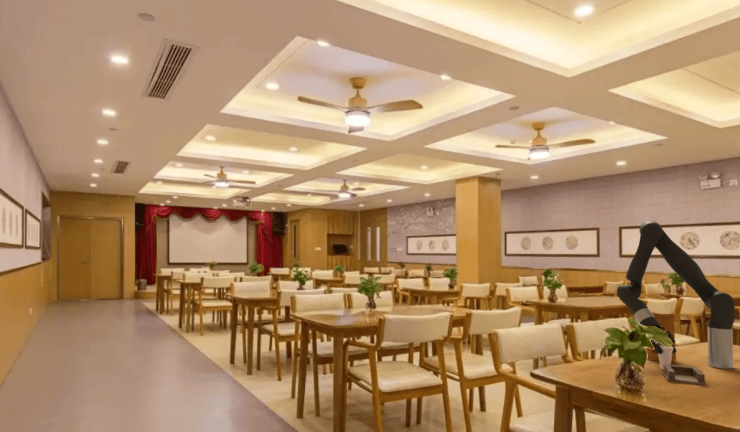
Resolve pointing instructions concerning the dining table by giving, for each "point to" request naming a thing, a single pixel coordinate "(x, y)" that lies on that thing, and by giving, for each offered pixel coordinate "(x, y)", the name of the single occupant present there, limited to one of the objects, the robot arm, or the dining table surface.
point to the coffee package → (666, 325)
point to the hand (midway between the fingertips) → (668, 352)
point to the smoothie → (665, 356)
